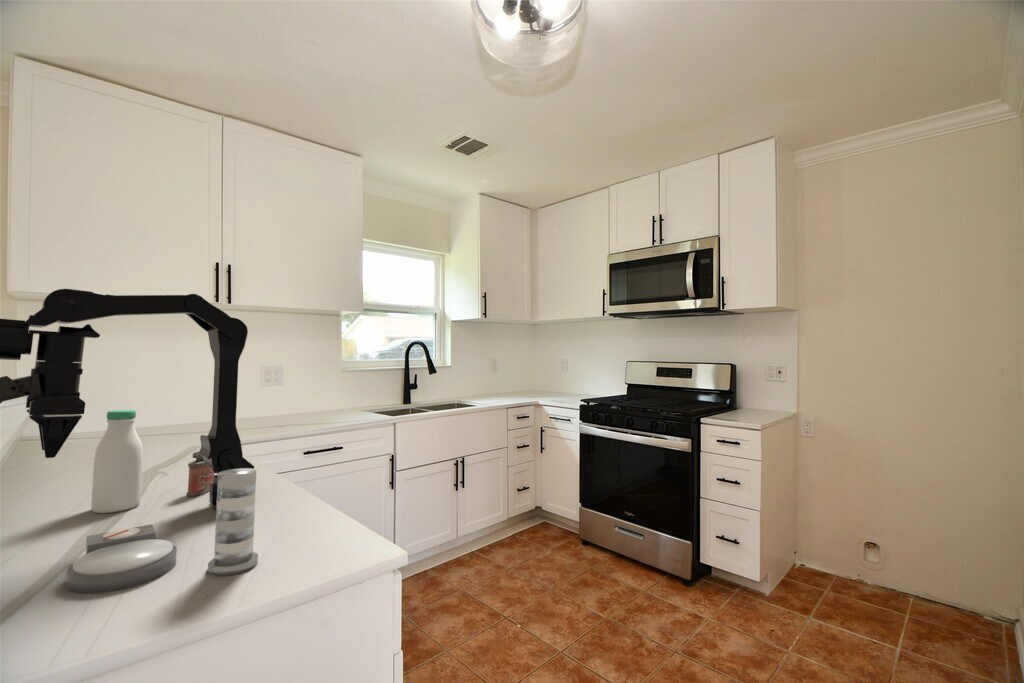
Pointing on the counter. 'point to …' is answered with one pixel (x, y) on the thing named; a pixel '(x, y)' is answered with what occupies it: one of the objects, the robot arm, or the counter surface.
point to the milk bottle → (118, 465)
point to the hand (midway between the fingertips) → (48, 453)
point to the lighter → (199, 477)
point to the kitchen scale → (121, 560)
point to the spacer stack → (234, 523)
